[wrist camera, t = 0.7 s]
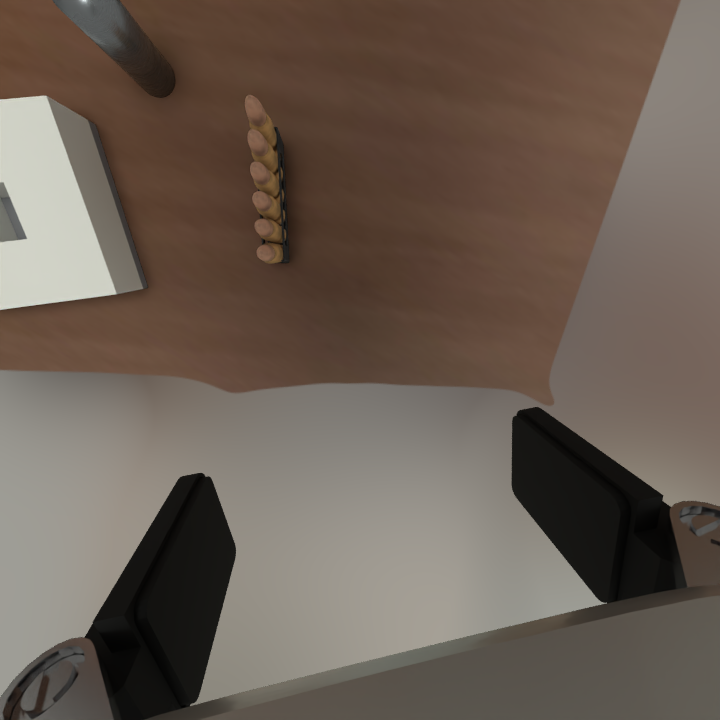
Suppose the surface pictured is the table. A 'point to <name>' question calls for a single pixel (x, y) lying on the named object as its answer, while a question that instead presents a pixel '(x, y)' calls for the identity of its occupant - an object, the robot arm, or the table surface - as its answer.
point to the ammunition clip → (268, 183)
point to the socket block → (59, 210)
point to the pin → (122, 42)
